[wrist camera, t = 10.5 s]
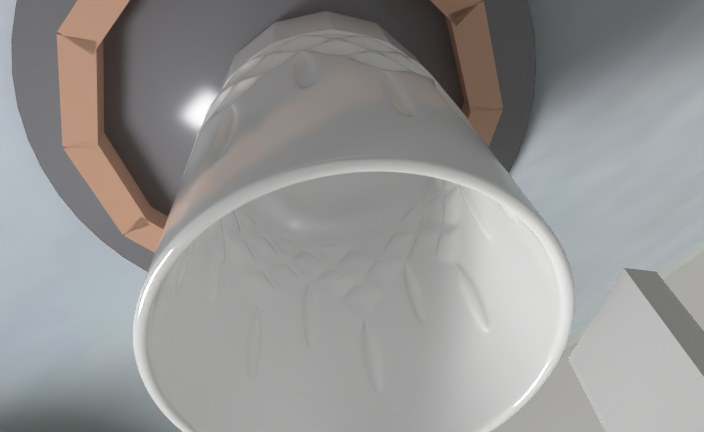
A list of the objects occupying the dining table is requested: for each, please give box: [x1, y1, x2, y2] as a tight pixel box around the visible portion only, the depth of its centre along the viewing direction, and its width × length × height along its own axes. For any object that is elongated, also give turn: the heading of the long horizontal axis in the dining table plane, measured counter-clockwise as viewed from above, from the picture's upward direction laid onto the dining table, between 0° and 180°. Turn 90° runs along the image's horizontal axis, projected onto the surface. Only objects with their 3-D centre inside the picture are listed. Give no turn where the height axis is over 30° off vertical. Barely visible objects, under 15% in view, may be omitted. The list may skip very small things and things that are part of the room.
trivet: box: [12, 0, 536, 272], centre depth 19 cm, size 16×16×1 cm
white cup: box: [133, 11, 575, 432], centre depth 15 cm, size 8×8×10 cm
